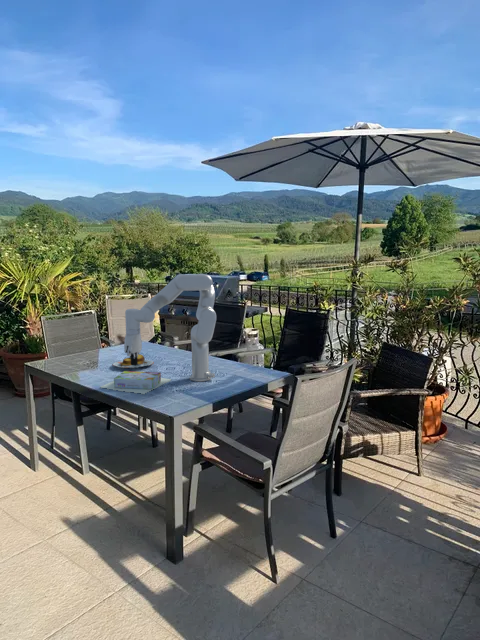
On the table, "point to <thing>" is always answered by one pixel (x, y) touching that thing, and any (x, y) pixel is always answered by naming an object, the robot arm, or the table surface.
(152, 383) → the snack box
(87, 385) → the table surface
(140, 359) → the food on plate
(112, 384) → the mat
